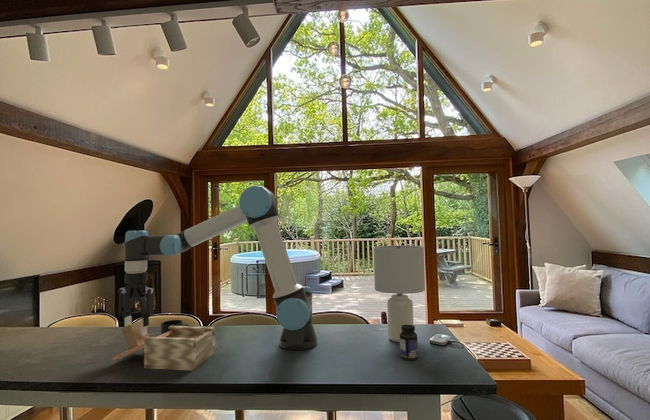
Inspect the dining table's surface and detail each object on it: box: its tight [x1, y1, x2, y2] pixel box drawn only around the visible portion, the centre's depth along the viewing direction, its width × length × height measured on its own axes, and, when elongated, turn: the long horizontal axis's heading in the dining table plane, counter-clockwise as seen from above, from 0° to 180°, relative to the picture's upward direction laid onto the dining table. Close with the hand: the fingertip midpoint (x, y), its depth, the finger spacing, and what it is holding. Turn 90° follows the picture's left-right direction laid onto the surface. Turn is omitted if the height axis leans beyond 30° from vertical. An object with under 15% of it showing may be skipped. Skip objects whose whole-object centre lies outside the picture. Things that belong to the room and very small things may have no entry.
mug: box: [160, 319, 191, 335], centre depth 144 cm, size 8×12×10 cm
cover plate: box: [111, 320, 174, 362], centre depth 131 cm, size 16×14×9 cm
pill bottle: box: [399, 324, 419, 361], centre depth 127 cm, size 6×6×11 cm
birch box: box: [143, 325, 216, 371], centre depth 129 cm, size 18×16×10 cm
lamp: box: [373, 244, 426, 343], centre depth 148 cm, size 20×20×39 cm
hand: (135, 334), depth 132 cm, fingers open, 6 cm apart
